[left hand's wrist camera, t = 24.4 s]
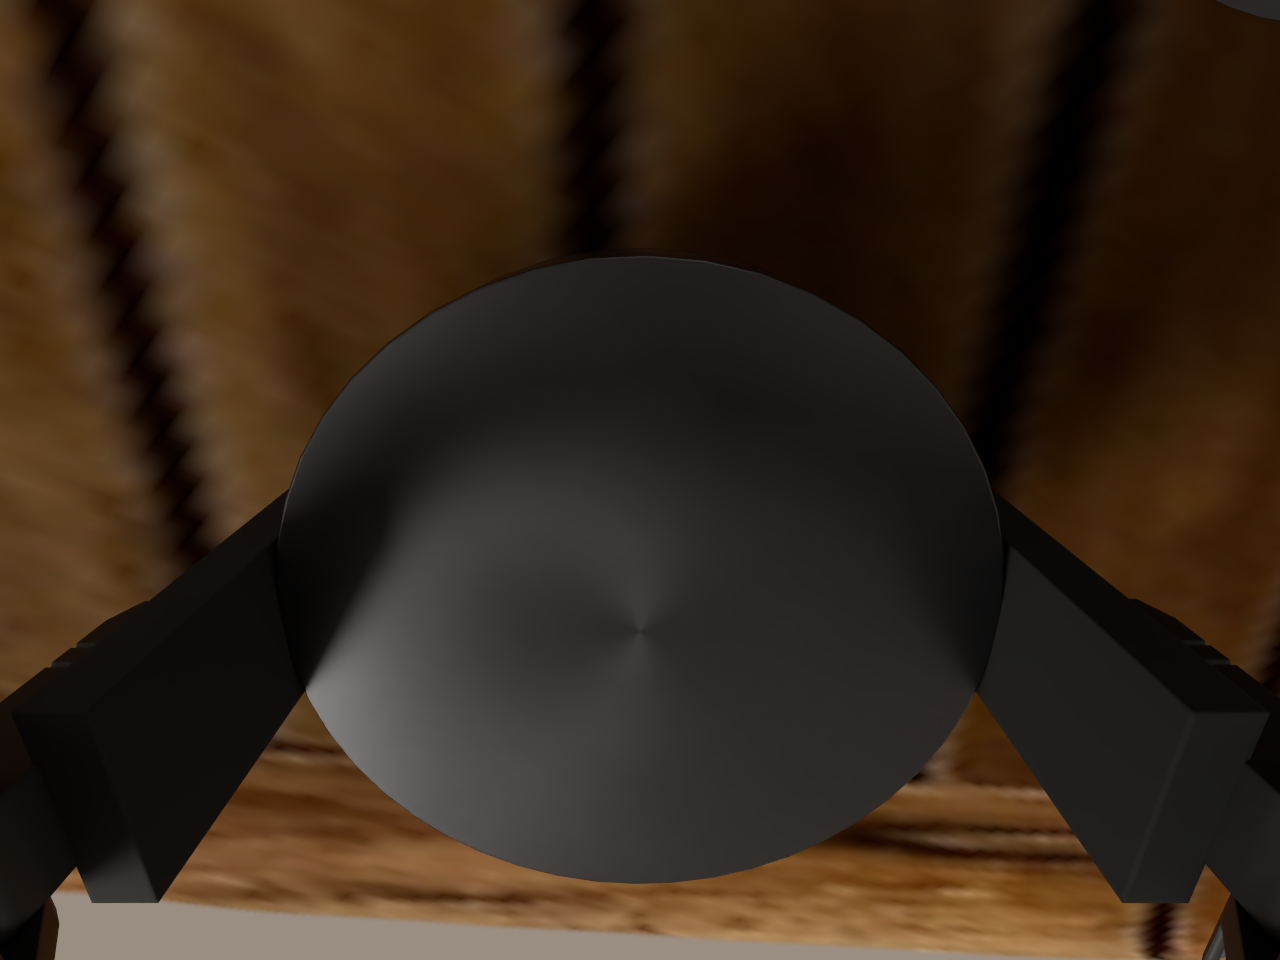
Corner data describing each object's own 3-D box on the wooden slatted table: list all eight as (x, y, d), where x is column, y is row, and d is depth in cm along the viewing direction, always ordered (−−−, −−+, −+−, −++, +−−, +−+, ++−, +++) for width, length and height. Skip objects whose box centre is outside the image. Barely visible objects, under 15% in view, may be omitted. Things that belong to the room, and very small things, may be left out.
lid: (978, 204, 10) (1043, 203, 8) (939, 785, 14) (978, 859, 12) (234, 293, 10) (161, 309, 9) (409, 829, 14) (380, 907, 13)
